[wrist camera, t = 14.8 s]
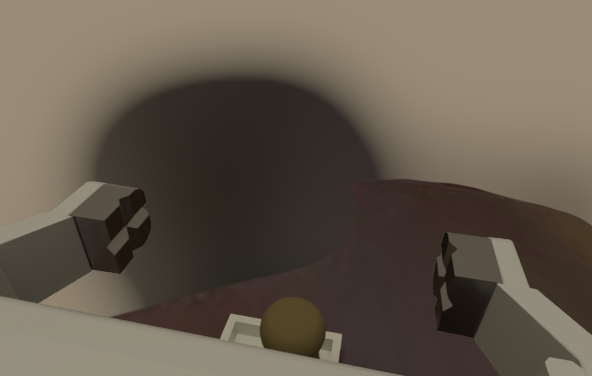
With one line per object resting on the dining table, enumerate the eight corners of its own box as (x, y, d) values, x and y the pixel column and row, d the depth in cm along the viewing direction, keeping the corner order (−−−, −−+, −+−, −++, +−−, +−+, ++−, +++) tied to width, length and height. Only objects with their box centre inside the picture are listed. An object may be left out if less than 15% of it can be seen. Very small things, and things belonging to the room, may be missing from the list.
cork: (245, 406, 36) (237, 326, 30) (279, 354, 41) (279, 275, 35) (305, 442, 34) (310, 363, 28) (335, 382, 38) (345, 303, 32)
